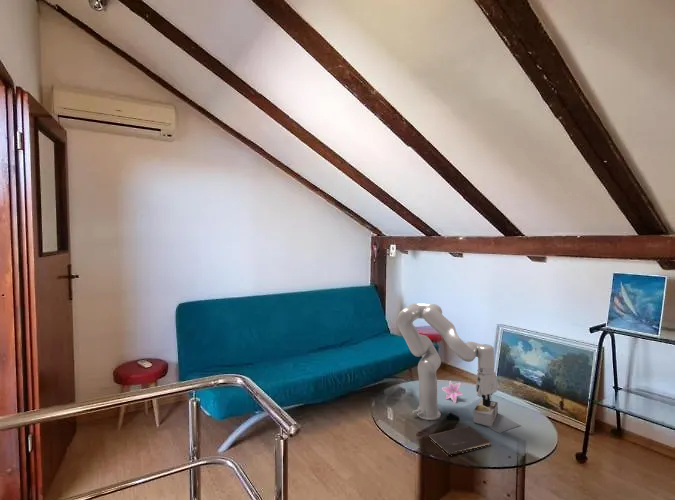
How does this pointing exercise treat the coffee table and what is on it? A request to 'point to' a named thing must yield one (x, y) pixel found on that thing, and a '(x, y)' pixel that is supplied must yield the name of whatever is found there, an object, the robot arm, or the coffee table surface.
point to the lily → (452, 391)
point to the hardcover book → (459, 439)
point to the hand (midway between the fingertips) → (486, 405)
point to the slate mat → (503, 424)
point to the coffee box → (485, 413)
